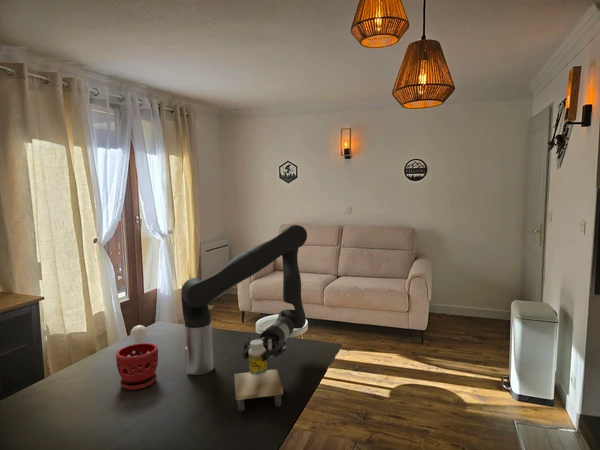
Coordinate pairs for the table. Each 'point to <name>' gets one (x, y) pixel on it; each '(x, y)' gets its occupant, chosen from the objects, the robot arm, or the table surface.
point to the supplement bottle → (257, 358)
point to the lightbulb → (139, 334)
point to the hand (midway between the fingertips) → (253, 357)
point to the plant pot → (137, 365)
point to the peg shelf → (257, 387)
